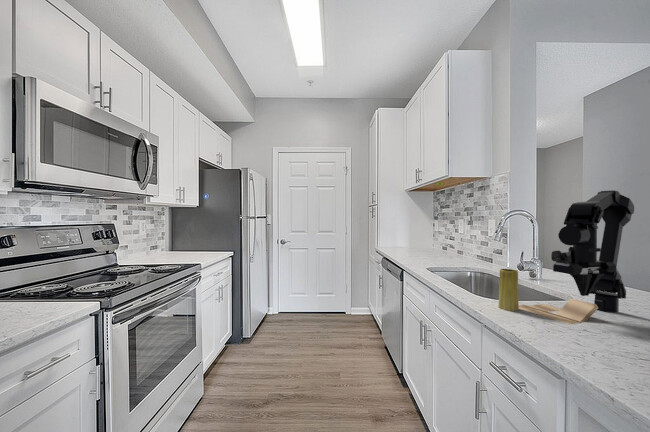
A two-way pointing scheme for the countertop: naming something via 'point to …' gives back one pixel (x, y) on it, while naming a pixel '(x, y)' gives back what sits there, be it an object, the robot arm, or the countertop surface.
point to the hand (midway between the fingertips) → (584, 295)
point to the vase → (508, 290)
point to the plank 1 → (545, 307)
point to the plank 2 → (578, 310)
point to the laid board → (549, 315)
